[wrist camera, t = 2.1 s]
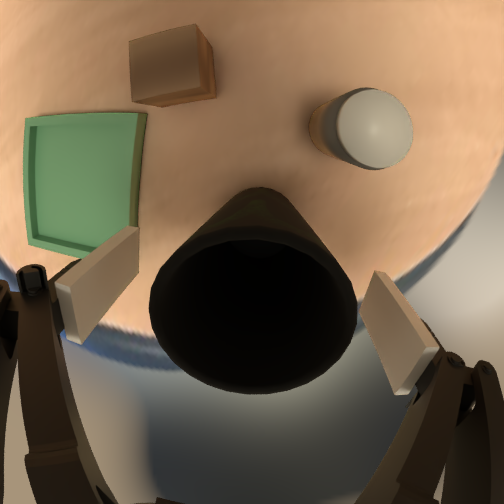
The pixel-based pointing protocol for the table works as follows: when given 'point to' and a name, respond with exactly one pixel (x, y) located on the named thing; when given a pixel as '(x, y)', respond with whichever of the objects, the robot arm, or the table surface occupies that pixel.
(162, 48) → the walnut block
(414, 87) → the table surface
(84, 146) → the tray
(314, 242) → the cup
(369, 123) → the pepper shaker
